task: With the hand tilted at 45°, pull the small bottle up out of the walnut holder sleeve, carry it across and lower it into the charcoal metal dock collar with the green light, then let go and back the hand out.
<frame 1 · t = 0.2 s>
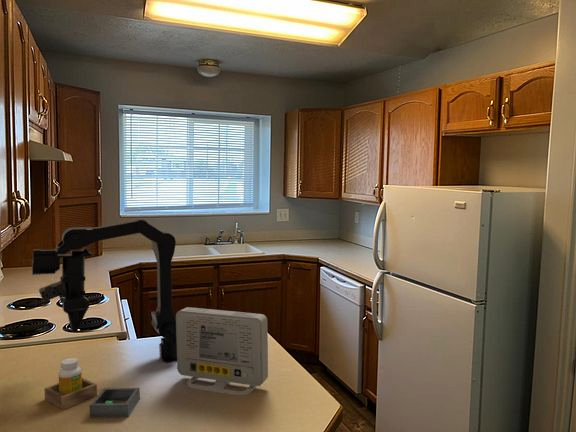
hand: (73, 327, 132), 14 cm above the counter, tool pointing down, fingers open, 9 cm apart
dock collar: (115, 407, 115), on the counter
holder sleeve: (71, 397, 120), on the counter
supplement bottle: (71, 398, 120), resting in holder sleeve
network device: (221, 385, 127), on the counter
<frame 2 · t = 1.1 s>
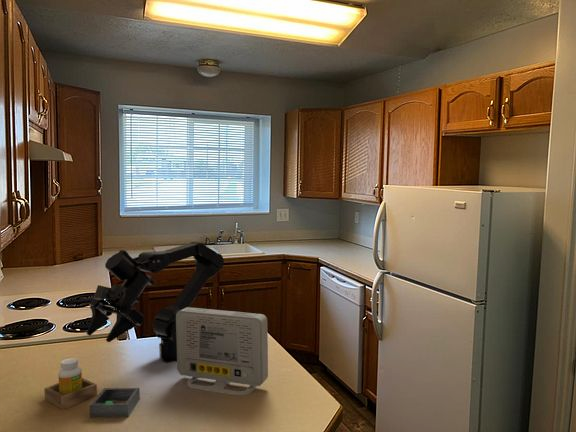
hand: (97, 338, 126), 13 cm above the counter, tool tilted 45°, fingers open, 9 cm apart
nothing on the counter moved.
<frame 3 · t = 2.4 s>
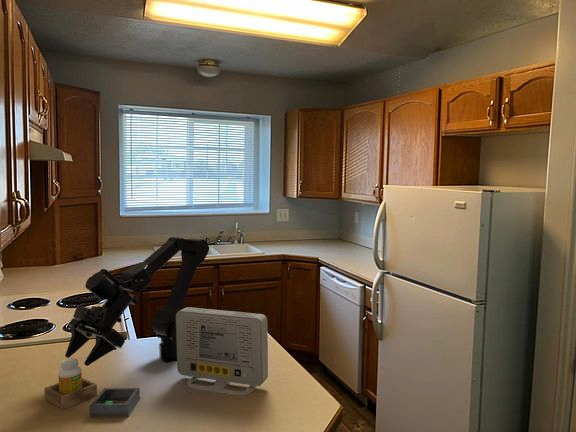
hand: (75, 360, 121), 9 cm above the counter, tool tilted 45°, fingers open, 9 cm apart
nothing on the counter moved.
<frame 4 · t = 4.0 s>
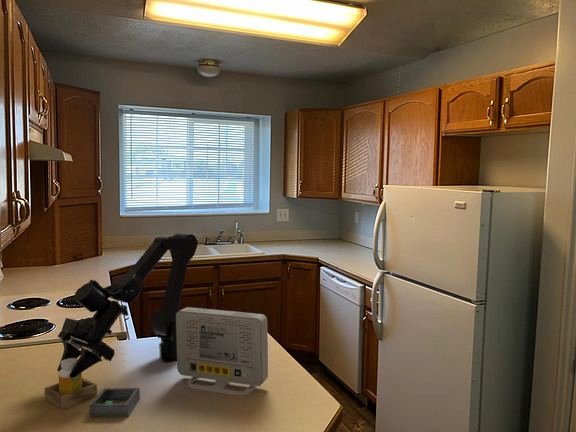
hand: (64, 374, 119), 7 cm above the counter, tool tilted 45°, fingers closed on supplement bottle, 5 cm apart
supplement bottle: (71, 398, 120), resting in holder sleeve, touching gripper
everything else where it was.
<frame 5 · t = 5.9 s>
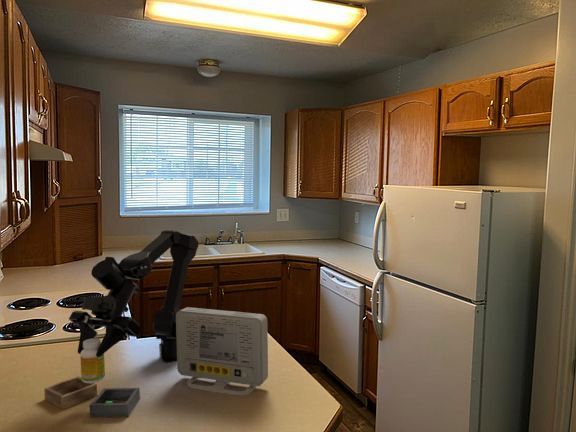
hand: (88, 354, 114), 13 cm above the counter, tool tilted 45°, fingers closed on supplement bottle, 5 cm apart
supplement bottle: (93, 379, 116), point 6 cm above the counter, touching gripper
everything else where it was.
when the fingers open (8 cm above the counter, at t = 8.0 s): supplement bottle drops 2 cm, resting in dock collar.
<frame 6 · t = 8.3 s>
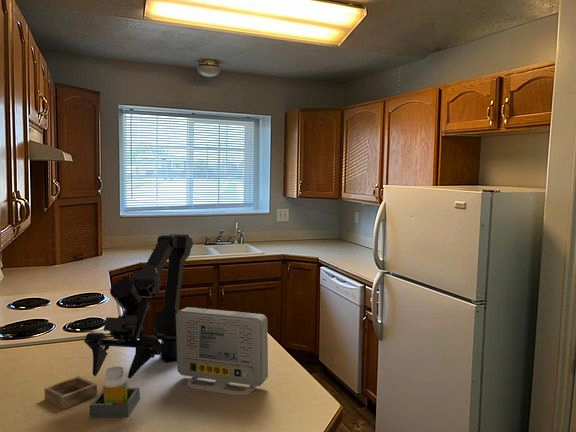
hand: (111, 376, 113), 9 cm above the counter, tool tilted 45°, fingers open, 9 cm apart
supplement bottle: (116, 408, 115), resting in dock collar
everything else where it was.
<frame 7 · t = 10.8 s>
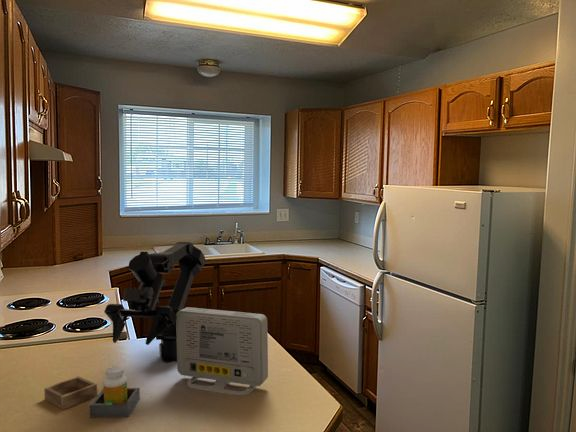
hand: (130, 343, 121), 13 cm above the counter, tool tilted 45°, fingers open, 9 cm apart
nothing on the counter moved.
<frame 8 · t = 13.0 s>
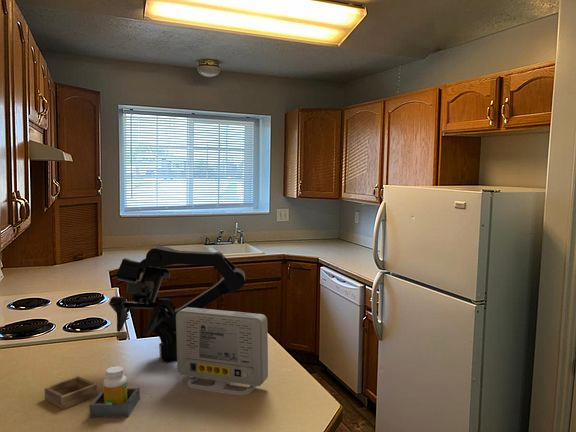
hand: (133, 332, 133), 13 cm above the counter, tool tilted 45°, fingers open, 9 cm apart
nothing on the counter moved.
at the end: supplement bottle 0.1 cm off-centre on the dock collar, point 0.0 cm above the dock collar's base; supplement bottle tilted 0°; the gripper is holding nothing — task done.
